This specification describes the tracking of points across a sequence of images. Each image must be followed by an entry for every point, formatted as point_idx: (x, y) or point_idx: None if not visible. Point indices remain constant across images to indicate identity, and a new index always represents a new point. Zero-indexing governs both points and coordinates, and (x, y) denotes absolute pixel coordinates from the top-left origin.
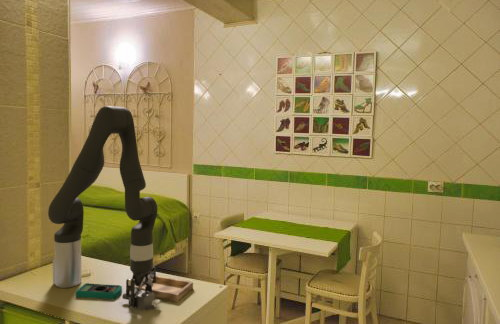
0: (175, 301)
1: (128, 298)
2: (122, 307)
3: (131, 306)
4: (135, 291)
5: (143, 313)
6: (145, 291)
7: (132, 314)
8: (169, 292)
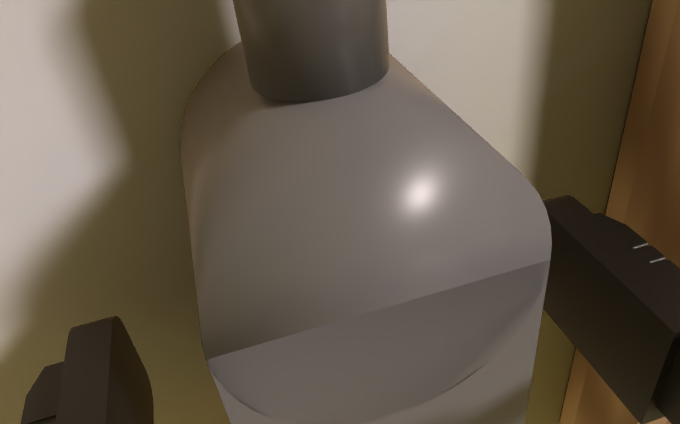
0: (563, 410)
1: (255, 82)
2: (43, 40)
3: (73, 340)
4: (425, 278)
5: (160, 417)
6: (508, 400)
7: (21, 362)
8: (656, 421)
